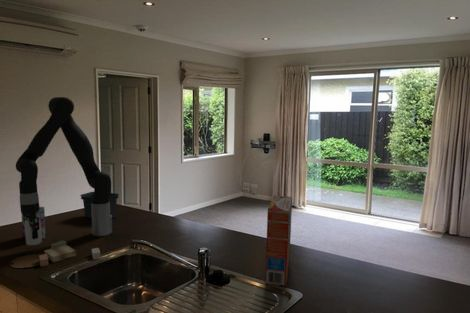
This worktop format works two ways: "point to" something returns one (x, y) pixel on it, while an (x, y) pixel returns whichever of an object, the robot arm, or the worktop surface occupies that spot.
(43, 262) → the brick terracotta
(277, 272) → the pasta box
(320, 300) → the worktop surface
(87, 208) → the storage bin
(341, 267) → the worktop surface
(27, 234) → the can
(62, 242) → the brick sage
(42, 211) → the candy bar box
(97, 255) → the brick cream
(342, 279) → the worktop surface
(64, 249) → the oak pad
